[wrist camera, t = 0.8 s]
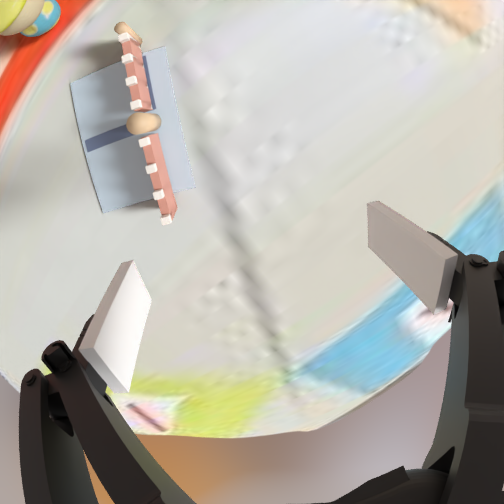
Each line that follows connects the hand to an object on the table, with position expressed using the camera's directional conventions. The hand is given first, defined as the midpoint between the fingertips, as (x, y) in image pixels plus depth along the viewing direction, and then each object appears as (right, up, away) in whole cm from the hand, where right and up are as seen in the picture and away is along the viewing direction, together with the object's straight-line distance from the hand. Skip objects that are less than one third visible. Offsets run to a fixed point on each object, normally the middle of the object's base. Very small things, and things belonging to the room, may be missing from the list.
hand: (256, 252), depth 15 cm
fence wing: (-12, +10, +19) cm, 25 cm away
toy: (-30, +34, +6) cm, 45 cm away
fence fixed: (-14, +22, +14) cm, 29 cm away
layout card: (-16, +16, +16) cm, 28 cm away
